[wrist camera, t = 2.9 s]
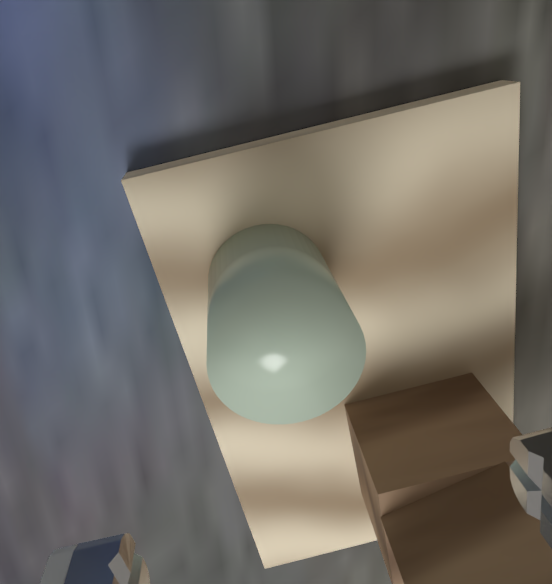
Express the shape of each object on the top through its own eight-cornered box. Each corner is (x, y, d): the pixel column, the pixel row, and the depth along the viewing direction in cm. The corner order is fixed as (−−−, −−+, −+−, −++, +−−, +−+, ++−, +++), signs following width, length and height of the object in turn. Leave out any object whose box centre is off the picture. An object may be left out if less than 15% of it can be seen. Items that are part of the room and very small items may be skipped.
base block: (344, 404, 22) (378, 494, 17) (471, 372, 22) (537, 453, 18) (361, 492, 25) (394, 590, 20) (474, 464, 25) (532, 554, 20)
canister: (192, 241, 18) (185, 313, 13) (315, 210, 18) (354, 271, 13) (225, 343, 20) (230, 439, 15) (334, 316, 20) (374, 403, 15)
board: (126, 172, 17) (120, 180, 16) (501, 80, 18) (520, 82, 16) (262, 548, 28) (264, 568, 26) (499, 488, 28) (511, 506, 27)
